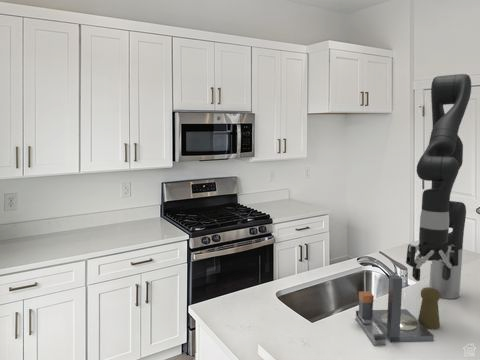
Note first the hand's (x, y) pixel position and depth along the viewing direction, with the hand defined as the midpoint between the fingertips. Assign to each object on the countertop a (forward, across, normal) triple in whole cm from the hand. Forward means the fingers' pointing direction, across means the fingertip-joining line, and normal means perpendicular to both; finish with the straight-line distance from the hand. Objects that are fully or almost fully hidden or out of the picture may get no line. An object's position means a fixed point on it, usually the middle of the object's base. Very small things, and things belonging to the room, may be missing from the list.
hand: (430, 279), depth 112 cm
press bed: (+14, +9, +1) cm, 17 cm away
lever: (+12, +19, -1) cm, 22 cm away
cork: (+14, 0, 0) cm, 14 cm away
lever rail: (+14, +19, +3) cm, 24 cm away
